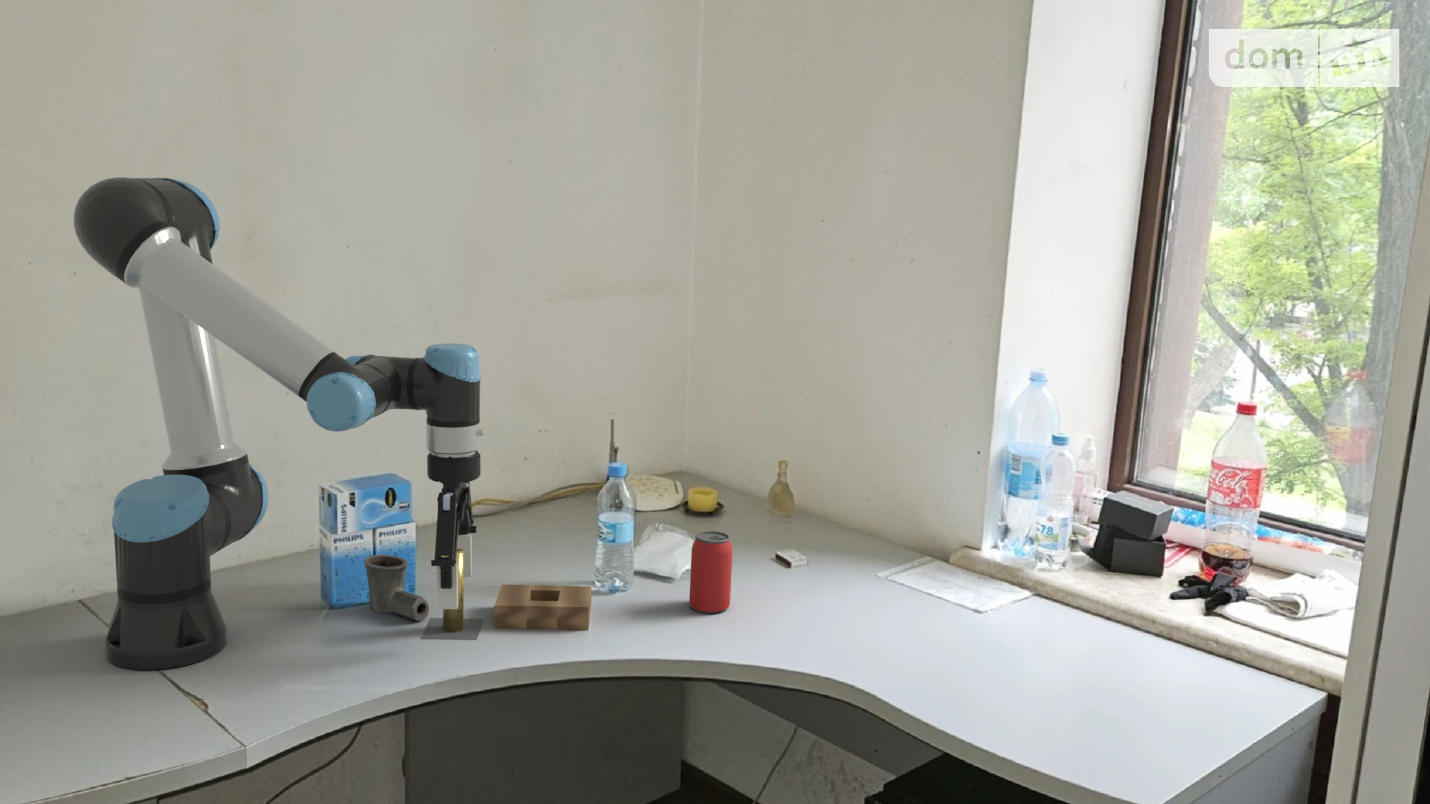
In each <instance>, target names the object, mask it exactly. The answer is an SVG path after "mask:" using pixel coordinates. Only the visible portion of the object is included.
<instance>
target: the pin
mask: <svg viewBox="0 0 1430 804" xmlns="http://www.w3.org/2000/svg"><path fill="white" fill-rule="evenodd" d="M442 557H448V556H442ZM456 564H457V575H458V608H457V609H442V618H443V630H444V631H445V632H450V633H454V632H459V631H462V630H463V623H464V619H465V618H464V611H465V610H464V601H465V600H464V598H465V597H464V596H465V595H464V594H465V591H464V590H465V589H464V587H465V584H464V582H465V581H464V580H465V577H464V550H462V549H458V548H457V552H456Z"/></svg>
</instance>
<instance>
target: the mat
mask: <svg viewBox="0 0 1430 804" xmlns="http://www.w3.org/2000/svg"><path fill="white" fill-rule="evenodd" d="M484 620H485V619H484V618H464V623H463V630H462V631H459V632H454V633H450V632H445V631H444V630H443V617H442V618H441V617H430V619H429V621H428V622H427V625H426V627H425V629H424V631H423V633H422V635H421V637H420V640H443V641H445V640H451V641H452V640H455V641H456V640H457V641H458V640H459V641H477V640H478V637H479V634H480V632H481V629H482V625H483V623H484Z"/></svg>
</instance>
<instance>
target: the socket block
mask: <svg viewBox="0 0 1430 804" xmlns="http://www.w3.org/2000/svg"><path fill="white" fill-rule="evenodd" d="M499 588H500V589H499V591H498V594H497V596H496V597H497V598H496V600H495V603H494V614H493V615H494V617H493V619H494V620H493V621H494V625H493V626H494V627H493V628H494V629H506V630H507V629H508V630H510V629H511V630H512V629H513V630H552V631H554V630H555V631H556V630H558V631H559V630H561V631H565V630H566V631H589V628H590V621H591V610H592V586H591V585H590V586H589V585H588V586H587V585H582V586H581V585H579V586H578V585H547V584H546V585H544V584H543V585H541V584H539V585H538V584H535V585H534V584H501V586H500V587H499Z"/></svg>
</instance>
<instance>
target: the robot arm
mask: <svg viewBox="0 0 1430 804" xmlns="http://www.w3.org/2000/svg"><path fill="white" fill-rule="evenodd" d="M220 224H221V223H220V217H219V214H218V212H217V209H216V207H215V205H214V203H213V202H212V200H211V199H210V198H209V196H208V195H207V194H206V193H205V192H203V191H201V189H200V188H199V187H196V186H195V185H193V184H191V183H189V182H186V181H182V180H177V179H174V178H169V177H152V178H151V177H147V178H146V177H141V178H140V177H138V178H137V177H134V178H133V177H132V178H131V177H123V176H122V177H121V176H120V177H119V176H118V177H111V178H106V179H102V180H100V181H97V182H96V183H94V184H92V185H91V186H89V187H88V188H87V189H86V190H85V191H84V192H83V193H82V194H81V195H80V197H79V199H78V200H77V203H76V205H75V208H74V213H73V228H74V232H75V236H76V238H77V239H78V241H79V243H80V245H81V247H82V248H83V249H84V251H85V252H86V253H87V254H88V255H89V257H90V258H91V259H93V261H95V262H96V263H97V264H98V265H99V266H100V267H102V268H103V269H105V270H106V271H107V272H109V273H110V274H111V275H112V276H114V277H116V278H117V279H118V280H120V281H121V282H123V283H124V284H125V285H127V286H128V287H130V288H133V289H135V288H137V289H138V290H139V294H140V300H141V304H142V305H141V306H142V310H143V315H144V321H145V324H146V331H147V335H148V340H149V346H150V350H151V351H150V352H151V357H152V361H153V362H152V363H153V366H154V371H155V377H156V382H157V383H156V384H157V387H158V388H157V389H158V392H159V398H160V403H161V409H162V414H163V419H164V423H165V428H166V434H167V439H168V444H169V449H170V454H169V455H168V456H167V457H166V459H165V460H164V462H163V463H162V465H161V468H162V473H163V474H162V475H157V476H153V477H152V478H144V479H141V480H137V481H135V482H131V484H129V485H126V487H124V488H123V489H121V490H120V491H119V493H117V495H116V496H115V499H114V501H113V515H112V519H111V526H112V530H113V539H114V555H115V571H116V572H115V573H116V589H117V590H116V591H117V602H116V605H115V609H114V611H113V614H112V618H111V621H110V624H109V628H108V631H107V635H106V636H105V655H106V657H105V658H106V659H107V660H108V661H109V662H110V663H111V664H112V665H115V666H117V667H121V668H123V669H124V668H126V669H131V670H146V671H147V670H148V671H149V670H153V671H154V670H164V669H173V668H179V667H183V666H187V665H191V664H195V663H198V662H202V661H203V660H206V659H208V658H210V657H213V656H214V655H216V654H218V653H219V652H220V651H222V650H223V649H224V648H225V646H226V645H227V641H228V640H227V626H226V622H225V620H224V617H223V616H222V613H221V610H220V608H219V606H218V603H217V601H216V598H215V596H214V593H213V592H212V585H211V584H212V580H211V579H212V577H211V573H212V572H211V556H213V555H214V554H216V553H217V552H220V551H221V550H223V549H225V548H226V547H228V546H230V545H231V544H233V543H236V542H238V541H240V540H242V539H243V538H245V537H247V536H248V535H249V534H250V533H251V532H252V530H254V529H255V528H256V527H257V526H258V525H259V524H260V523H261V521H263V518H264V516H265V515H266V512H267V510H268V509H267V508H268V507H269V506H268V505H269V490H268V485H267V483H266V480H265V478H264V476H263V475H262V474H261V472H260V471H258V470H257V469H255V467H254V466H253V465H252V464H250V461H249V457H248V452H247V449H245V448H243V447H242V446H241V445H239V444H238V443H236V442H235V440H234V436H233V429H232V423H231V419H230V414H229V409H228V403H227V398H226V392H225V386H224V383H223V382H224V381H223V377H222V371H221V365H220V364H221V363H220V361H219V353H218V348H217V342H216V340H218V341H220V342H221V343H222V344H224V345H225V346H227V347H228V348H229V349H231V350H232V351H234V352H235V353H236V354H238V355H240V356H241V357H243V358H244V359H245V360H246V361H248V362H249V363H251V364H252V365H253V366H255V367H256V368H258V369H259V370H260V371H262V372H264V374H266V375H268V377H270V378H272V379H274V381H276V382H278V383H279V384H280V385H282V386H283V387H284V388H286V389H287V390H288V391H290V392H292V393H293V394H295V395H296V396H298V397H299V399H301V400H303V401H304V402H305V403H306V408H307V412H308V413H309V415H310V417H311V418H312V421H313V422H314V423H315V424H316V425H317V426H319V427H320V428H322V429H323V430H326V431H331V432H337V433H338V432H344V431H349V430H351V429H356V428H358V427H362V425H365V423H366V422H368V421H370V420H371V419H373V418H375V417H378V416H380V415H381V414H384V413H386V412H388V411H389V410H414V411H422V410H423V411H425V413H426V427H425V428H426V449H427V451H429V453H428V454H427V455H426V456H427V457H426V458H427V459H426V464H427V466H426V467H427V477H428V479H429V480H431V481H433V482H436V483H438V482H439V483H441V484H442V487H441V492H439V493H438V495H437V500H436V501H437V517H436V518H437V519H436V531H435V532H436V533H435V534H436V535H435V546H434V547H435V549H434V559H433V560H432V559H431V561H430V562H431V563H430V565H431V567H436V574H437V575H436V578H437V580H436V581H437V583H436V584H437V588H436V589H437V593H436V594H437V610H443V609H457V608H458V575H457V564H456V552H457V548H458V549H462V550H464V578H468V577H469V578H472V575H473V570H472V569H473V565H472V564H473V563H472V561H473V559H472V558H473V556H472V555H473V554H472V552H473V550H472V549H473V548H472V547H473V545H472V544H473V542H472V534H477V525H474V522H475V521H474V517H473V515H474V514H473V508H472V507H473V506H472V494H471V486H470V485H471V483H470V482H472V481H475V480H477V479H479V478H480V476H481V474H482V473H481V472H482V471H481V467H482V465H481V462H482V461H481V453H480V452H479V451H478V450H479V449H480V448H481V437H482V436H484V435H485V430H484V429H482V428H480V425H481V424H480V422H481V412H480V411H481V405H480V404H481V380H482V376H481V372H480V371H481V370H480V357H479V351H478V349H476V348H475V346H472V345H470V344H465V343H436V344H432V345H431V344H430V345H428V346H427V347H426V349H425V355H424V357H405V356H387V355H385V356H384V355H382V356H381V355H375V354H366V355H351V356H348V357H347V358H343V357H342V356H341V355H339V354H338V353H337V352H336V351H335V350H333V349H331V348H330V347H329V346H328V345H326V344H325V343H323V342H322V341H320V339H318V338H316V337H315V336H313V335H312V334H310V333H309V332H308V331H306V330H305V329H303V328H302V326H299V324H297V323H295V322H294V321H292V320H291V319H289V318H288V317H287V316H286V315H284V314H283V313H282V312H280V311H278V310H277V309H276V308H274V307H273V306H271V305H270V304H269V303H267V302H266V301H264V300H263V299H262V298H260V297H259V296H257V294H255V293H253V292H252V291H251V290H249V289H248V288H246V287H245V286H243V285H242V284H241V283H240V282H238V281H236V280H235V279H234V278H233V277H231V276H229V274H227V273H225V272H224V271H223V270H221V269H220V268H219V267H217V266H216V265H214V263H213V258H212V253H211V251H212V249H213V248H214V246H215V244H216V242H217V241H218V239H219V236H220V228H221V227H220V226H221V225H220ZM443 556H448V557H443Z"/></svg>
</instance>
